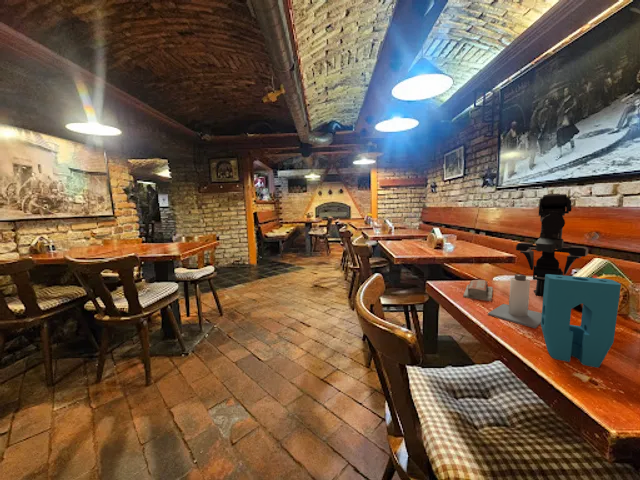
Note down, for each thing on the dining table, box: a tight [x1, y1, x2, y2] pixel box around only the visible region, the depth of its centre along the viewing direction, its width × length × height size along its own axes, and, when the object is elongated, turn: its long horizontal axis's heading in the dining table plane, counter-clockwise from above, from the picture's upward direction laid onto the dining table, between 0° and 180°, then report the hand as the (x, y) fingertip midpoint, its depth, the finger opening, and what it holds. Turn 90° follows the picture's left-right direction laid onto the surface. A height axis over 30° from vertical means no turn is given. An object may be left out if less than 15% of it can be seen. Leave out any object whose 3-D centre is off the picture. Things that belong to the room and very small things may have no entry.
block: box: [540, 274, 622, 368], centre depth 61 cm, size 12×5×20 cm, turn 61°
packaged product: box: [462, 279, 494, 302], centre depth 109 cm, size 18×5×10 cm
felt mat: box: [487, 303, 542, 329], centre depth 86 cm, size 14×13×1 cm
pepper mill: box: [508, 273, 531, 317], centre depth 86 cm, size 5×5×14 cm
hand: (547, 272), depth 92 cm, fingers open, 9 cm apart
